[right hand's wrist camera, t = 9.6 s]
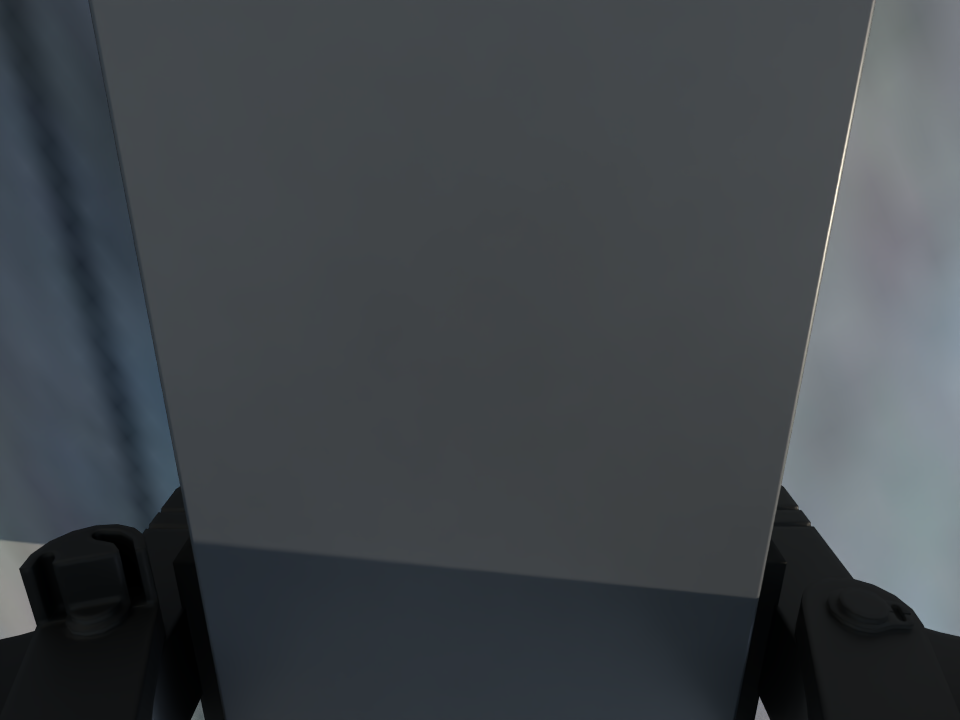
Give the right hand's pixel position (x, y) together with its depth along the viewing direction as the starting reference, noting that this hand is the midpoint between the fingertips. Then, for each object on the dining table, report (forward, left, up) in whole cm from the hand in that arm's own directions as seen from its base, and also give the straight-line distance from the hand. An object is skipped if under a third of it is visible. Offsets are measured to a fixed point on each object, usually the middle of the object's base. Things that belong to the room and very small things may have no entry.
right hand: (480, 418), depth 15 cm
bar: (+9, +16, -1) cm, 19 cm away
